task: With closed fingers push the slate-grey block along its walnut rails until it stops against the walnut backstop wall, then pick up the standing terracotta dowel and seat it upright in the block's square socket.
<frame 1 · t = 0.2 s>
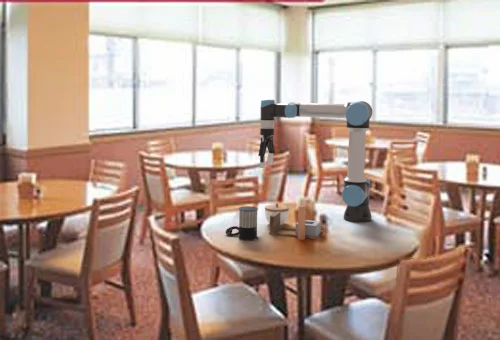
hand: (266, 166, 334), 28 cm above the table, fingers open, 13 cm apart
lidded bowl: (276, 224, 321), on the table
track: (296, 233, 302), on the table
block: (308, 228, 299), point 3 cm above the table, slide at 0.0 cm
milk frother: (241, 237, 294), on the table
dowel: (301, 239, 291), on the table
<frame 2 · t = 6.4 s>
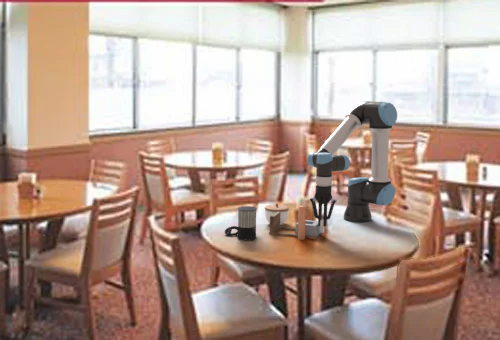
hand: (322, 232, 297), 2 cm above the table, fingers closed
block: (308, 228, 299), point 3 cm above the table, slide at 0.1 cm, touching gripper
everything else where it was.
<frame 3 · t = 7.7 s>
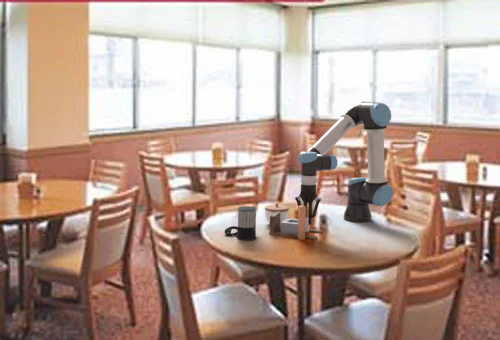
hand: (307, 231, 299), 2 cm above the table, fingers closed
block: (293, 227, 302), point 3 cm above the table, slide at 7.6 cm, touching gripper
everything else where it was.
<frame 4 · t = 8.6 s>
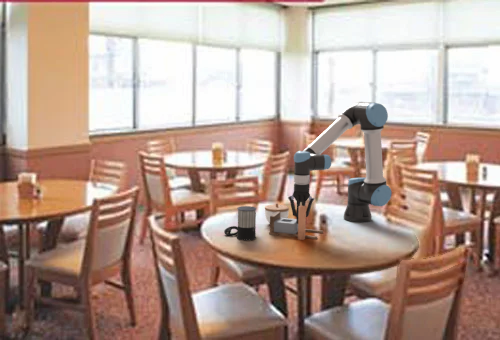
hand: (300, 230, 300), 2 cm above the table, fingers closed
block: (286, 226, 303), point 3 cm above the table, slide at 11.0 cm, touching gripper, track
everything else where it was.
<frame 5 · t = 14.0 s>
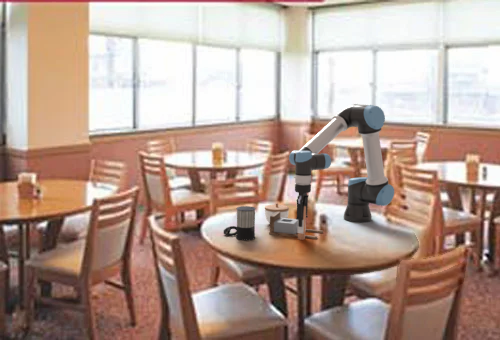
hand: (301, 231, 291), 4 cm above the table, fingers closed on dowel, 3 cm apart
block: (286, 226, 303), point 3 cm above the table, slide at 11.0 cm
dowel: (301, 239, 291), on the table, touching gripper
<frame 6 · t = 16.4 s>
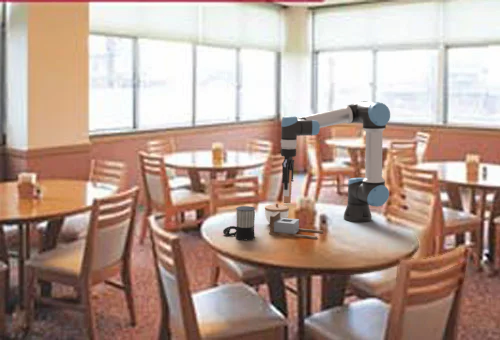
hand: (287, 195, 300), 19 cm above the table, fingers closed on dowel, 3 cm apart
dowel: (287, 202, 301), point 15 cm above the table, touching gripper
when the fingers open (8 cm above the table, at t = 19.1 s): dowel drops 1 cm, resting on block.
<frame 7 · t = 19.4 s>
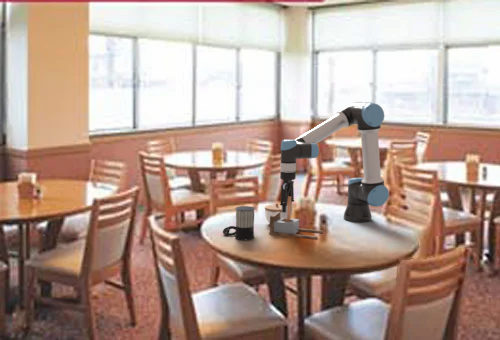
hand: (286, 216, 302), 8 cm above the table, fingers open, 8 cm apart
block: (286, 226, 303), point 3 cm above the table, slide at 11.0 cm, touching dowel
dowel: (286, 228, 303), point 2 cm above the table, touching block
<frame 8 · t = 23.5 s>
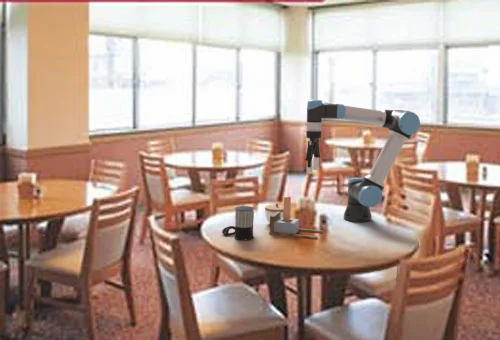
hand: (312, 171, 313), 29 cm above the table, fingers open, 13 cm apart
at the end: block slide at 11.0 cm; dowel 0.0 cm off-centre on the block, point 2.0 cm above the block's base; dowel tilted 0° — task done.
